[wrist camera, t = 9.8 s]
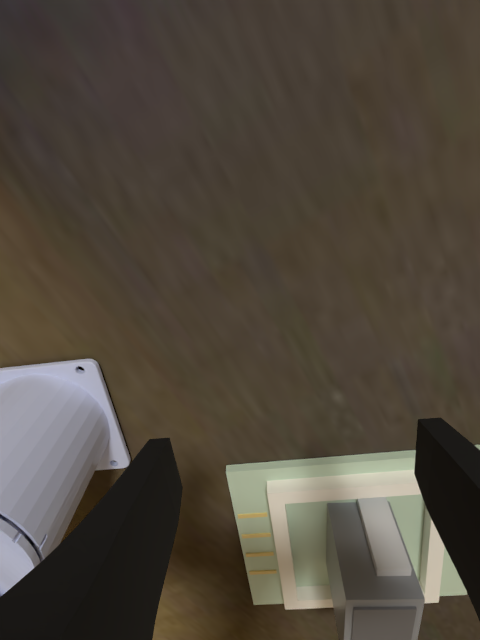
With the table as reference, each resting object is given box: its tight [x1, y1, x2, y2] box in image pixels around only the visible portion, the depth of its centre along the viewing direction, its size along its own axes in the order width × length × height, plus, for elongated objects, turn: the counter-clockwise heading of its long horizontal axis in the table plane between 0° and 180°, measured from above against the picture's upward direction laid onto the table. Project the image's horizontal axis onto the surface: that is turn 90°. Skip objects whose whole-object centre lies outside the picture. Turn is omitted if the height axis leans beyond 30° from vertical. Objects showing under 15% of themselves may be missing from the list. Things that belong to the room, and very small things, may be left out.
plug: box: [326, 497, 425, 640], centre depth 24 cm, size 4×6×6 cm, turn 5°
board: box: [226, 445, 480, 610], centre depth 27 cm, size 16×14×2 cm
